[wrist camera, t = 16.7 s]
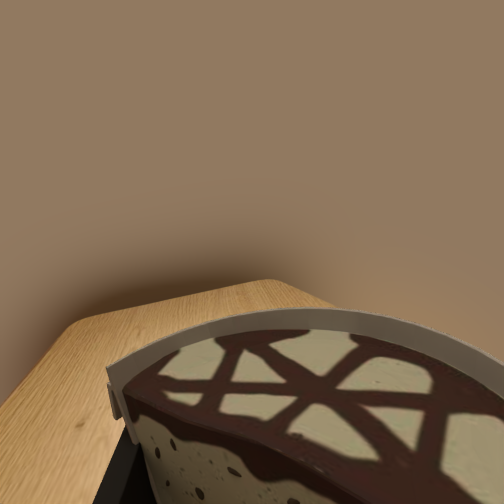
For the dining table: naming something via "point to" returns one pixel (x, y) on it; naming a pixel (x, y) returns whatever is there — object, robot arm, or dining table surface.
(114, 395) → the food container
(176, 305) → the dining table surface
